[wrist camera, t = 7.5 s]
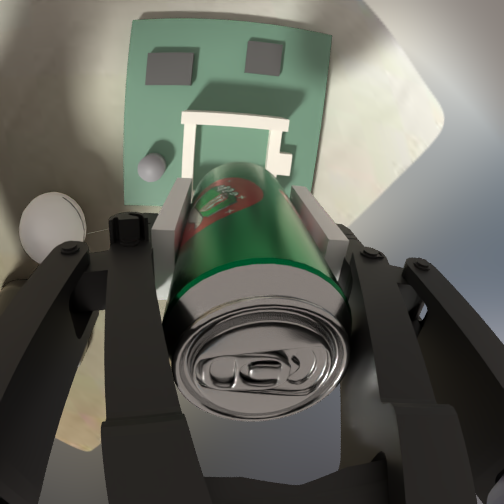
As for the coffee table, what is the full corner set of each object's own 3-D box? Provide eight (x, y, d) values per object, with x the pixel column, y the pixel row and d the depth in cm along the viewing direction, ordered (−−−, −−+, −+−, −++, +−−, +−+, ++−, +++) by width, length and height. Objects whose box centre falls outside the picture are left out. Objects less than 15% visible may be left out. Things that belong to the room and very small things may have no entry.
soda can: (278, 247, 19) (335, 423, 9) (191, 243, 19) (165, 426, 8) (289, 163, 17) (394, 287, 6) (194, 156, 16) (143, 279, 6)
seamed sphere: (40, 240, 32) (10, 273, 25) (39, 179, 28) (3, 202, 22) (117, 255, 33) (97, 293, 27) (122, 191, 30) (98, 218, 24)
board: (127, 200, 31) (114, 218, 27) (136, 22, 23) (121, 11, 18) (304, 210, 33) (316, 228, 29) (328, 37, 25) (345, 29, 21)
